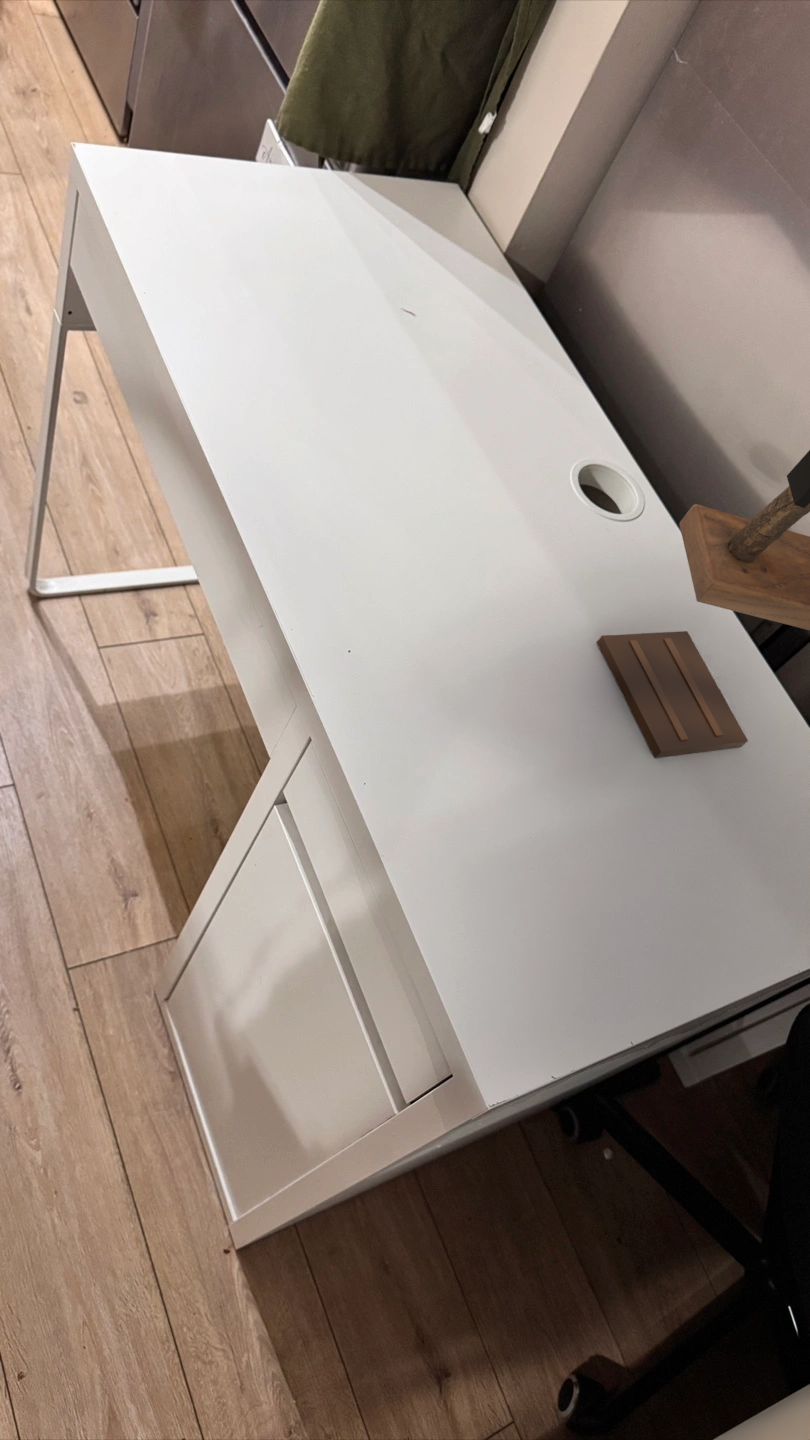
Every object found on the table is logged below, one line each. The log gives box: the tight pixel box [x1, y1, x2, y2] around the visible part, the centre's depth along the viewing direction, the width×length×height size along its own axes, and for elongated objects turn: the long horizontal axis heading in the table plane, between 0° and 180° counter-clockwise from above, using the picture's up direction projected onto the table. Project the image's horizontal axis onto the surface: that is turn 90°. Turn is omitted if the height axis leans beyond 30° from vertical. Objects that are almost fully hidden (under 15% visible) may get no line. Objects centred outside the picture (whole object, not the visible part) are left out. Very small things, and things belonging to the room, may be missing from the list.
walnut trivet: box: [596, 630, 749, 759], centre depth 88 cm, size 12×10×1 cm
